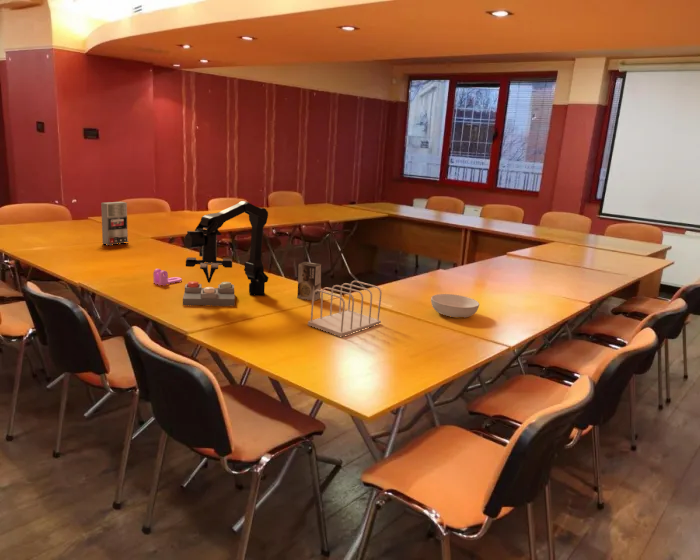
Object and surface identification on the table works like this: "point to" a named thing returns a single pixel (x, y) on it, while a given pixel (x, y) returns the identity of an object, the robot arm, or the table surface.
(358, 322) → the file sorter
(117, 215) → the cassette tape recorder
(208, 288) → the cream button
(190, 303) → the control panel
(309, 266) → the coffee box
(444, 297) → the serving bowl
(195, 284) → the red button
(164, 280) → the bracket
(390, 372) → the table surface
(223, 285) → the sage button
